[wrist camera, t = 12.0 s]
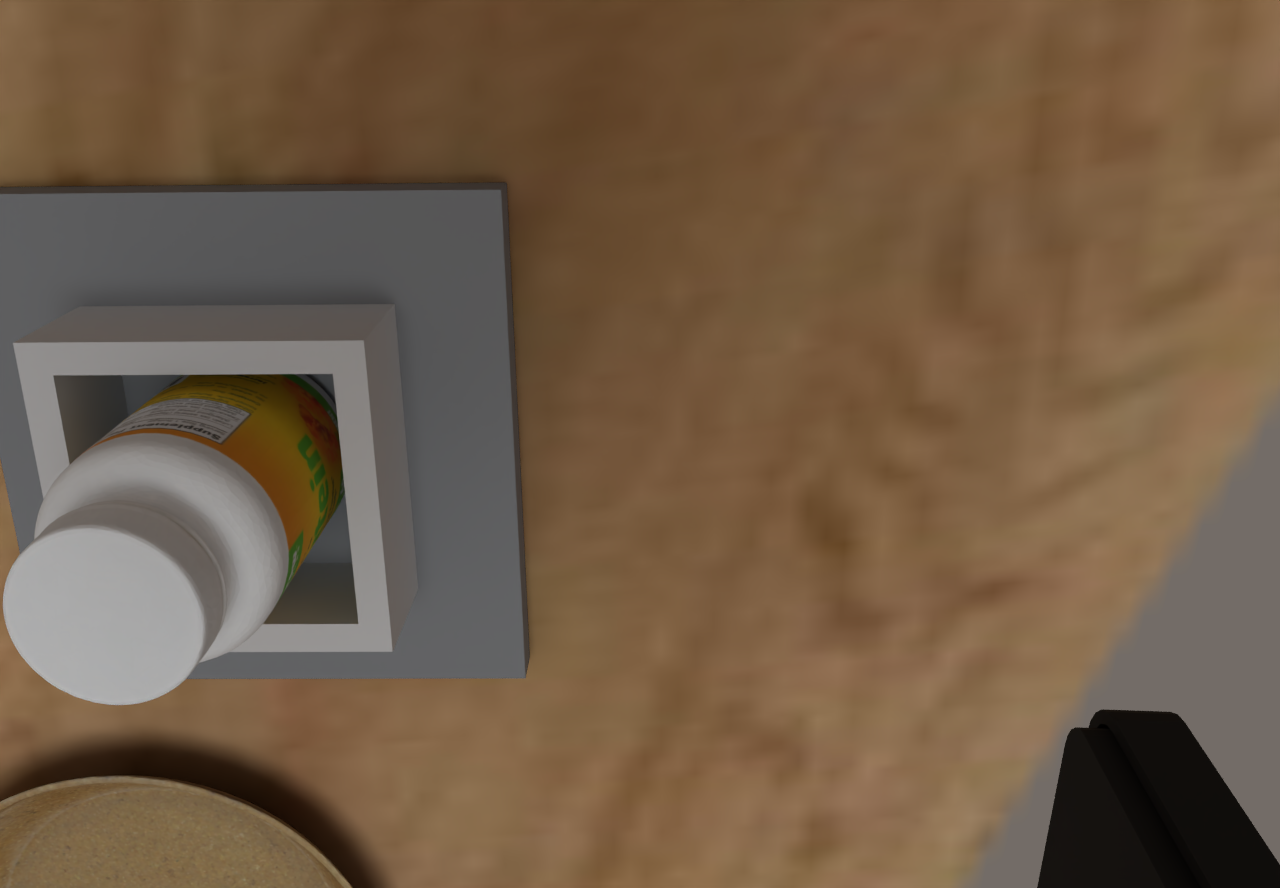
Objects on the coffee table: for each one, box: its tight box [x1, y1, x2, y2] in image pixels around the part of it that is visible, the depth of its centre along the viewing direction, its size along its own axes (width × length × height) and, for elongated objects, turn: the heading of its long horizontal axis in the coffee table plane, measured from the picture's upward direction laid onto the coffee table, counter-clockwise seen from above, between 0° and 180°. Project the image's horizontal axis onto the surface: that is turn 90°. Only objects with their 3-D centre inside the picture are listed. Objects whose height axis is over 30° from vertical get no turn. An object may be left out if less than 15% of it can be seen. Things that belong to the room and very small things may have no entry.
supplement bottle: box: [3, 374, 345, 705], centre depth 28 cm, size 5×5×10 cm
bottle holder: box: [0, 183, 530, 679], centre depth 32 cm, size 14×14×5 cm
